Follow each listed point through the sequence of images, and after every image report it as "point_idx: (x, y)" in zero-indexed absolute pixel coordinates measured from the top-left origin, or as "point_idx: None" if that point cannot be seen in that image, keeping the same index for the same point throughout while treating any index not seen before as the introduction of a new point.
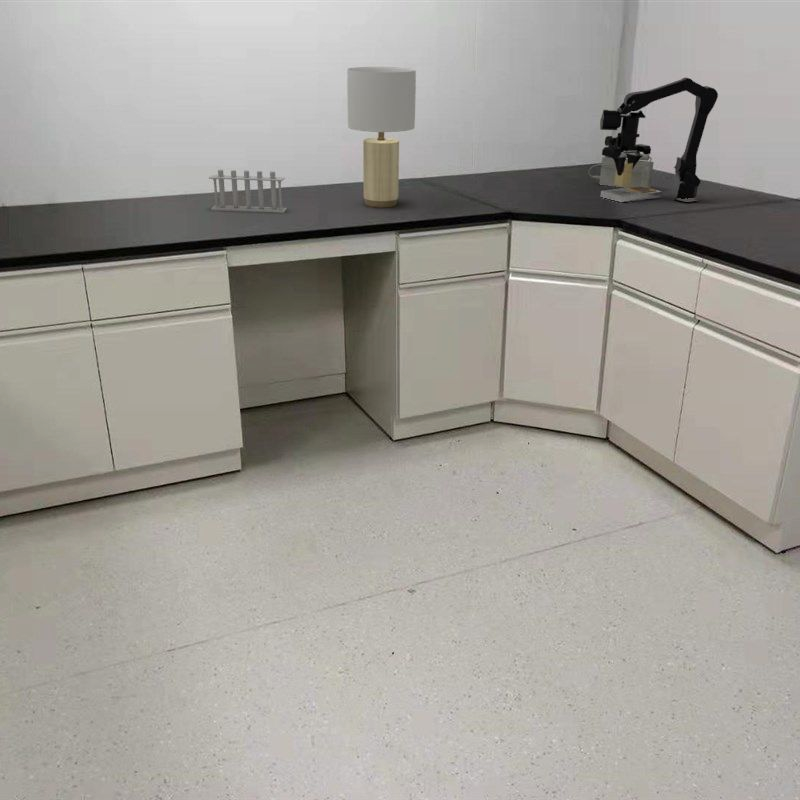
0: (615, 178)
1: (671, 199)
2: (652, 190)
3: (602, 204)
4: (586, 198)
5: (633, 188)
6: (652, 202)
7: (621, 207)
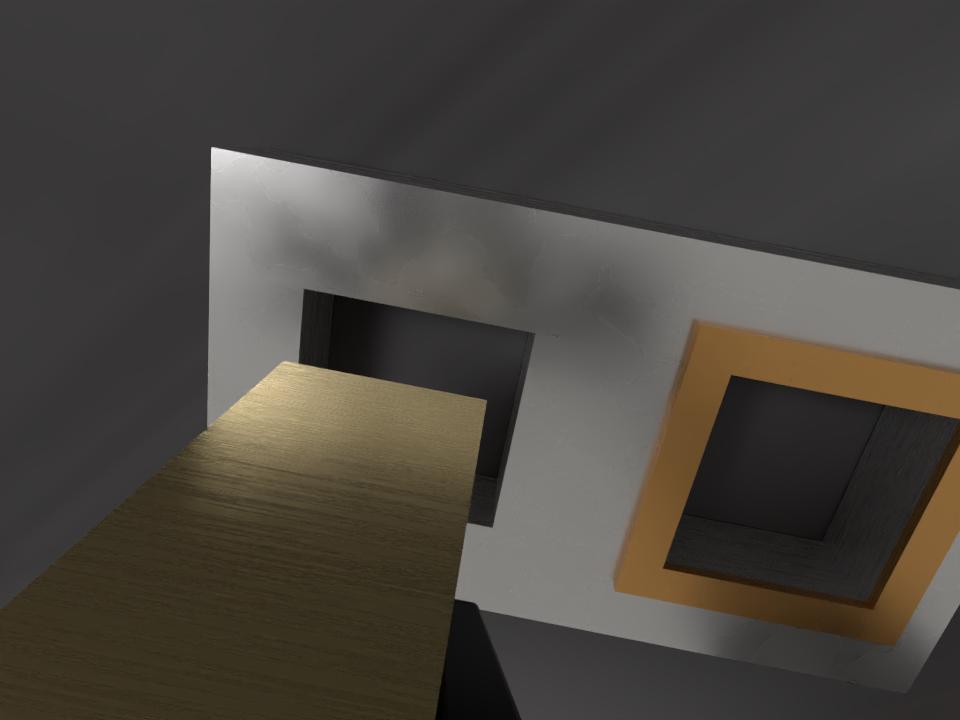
0: (230, 419)
1: (889, 705)
2: (831, 626)
3: (29, 410)
4: (43, 59)
5: (782, 382)
6: (586, 659)
7: None
